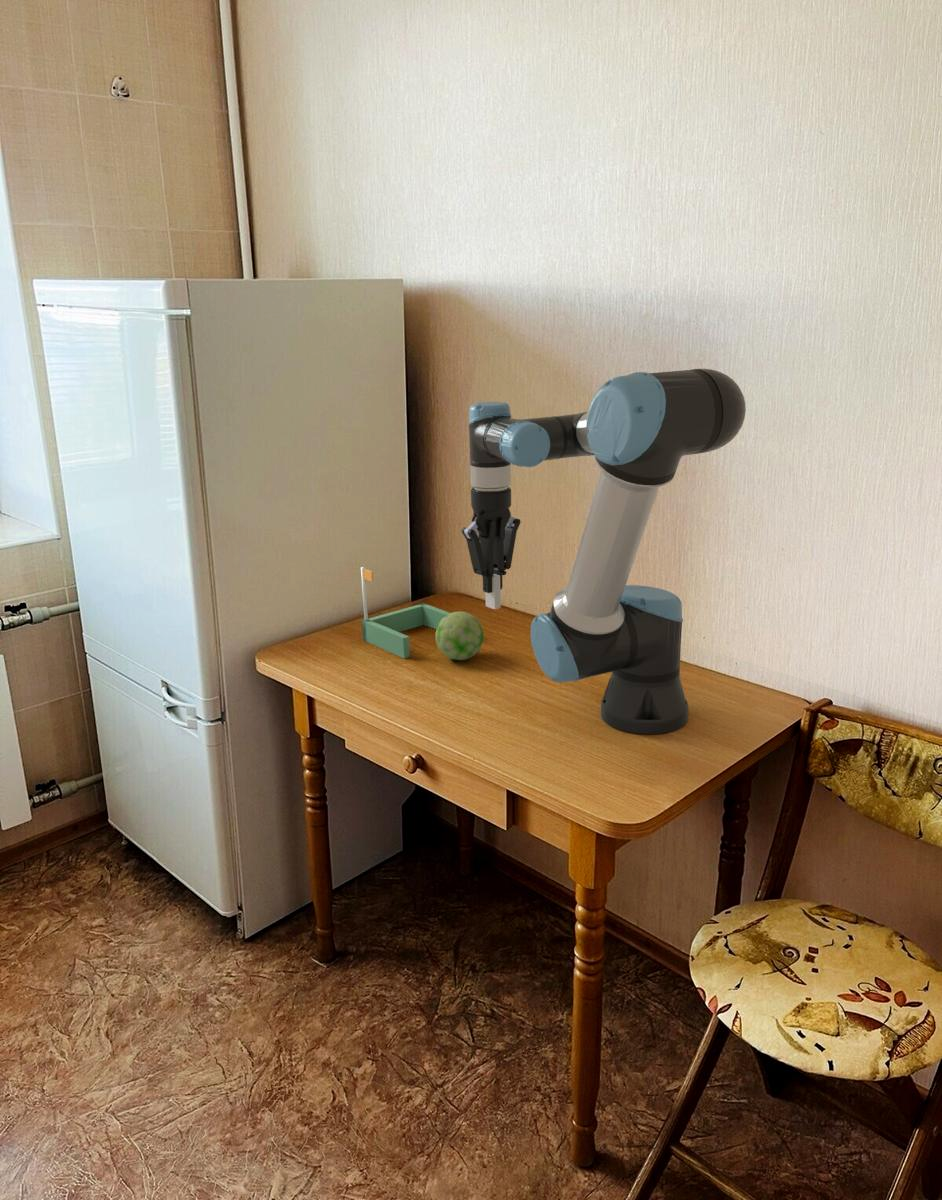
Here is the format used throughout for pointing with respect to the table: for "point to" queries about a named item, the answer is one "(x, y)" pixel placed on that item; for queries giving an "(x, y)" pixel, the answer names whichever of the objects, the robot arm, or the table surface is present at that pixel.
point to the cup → (396, 623)
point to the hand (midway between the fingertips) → (493, 606)
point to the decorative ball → (459, 635)
